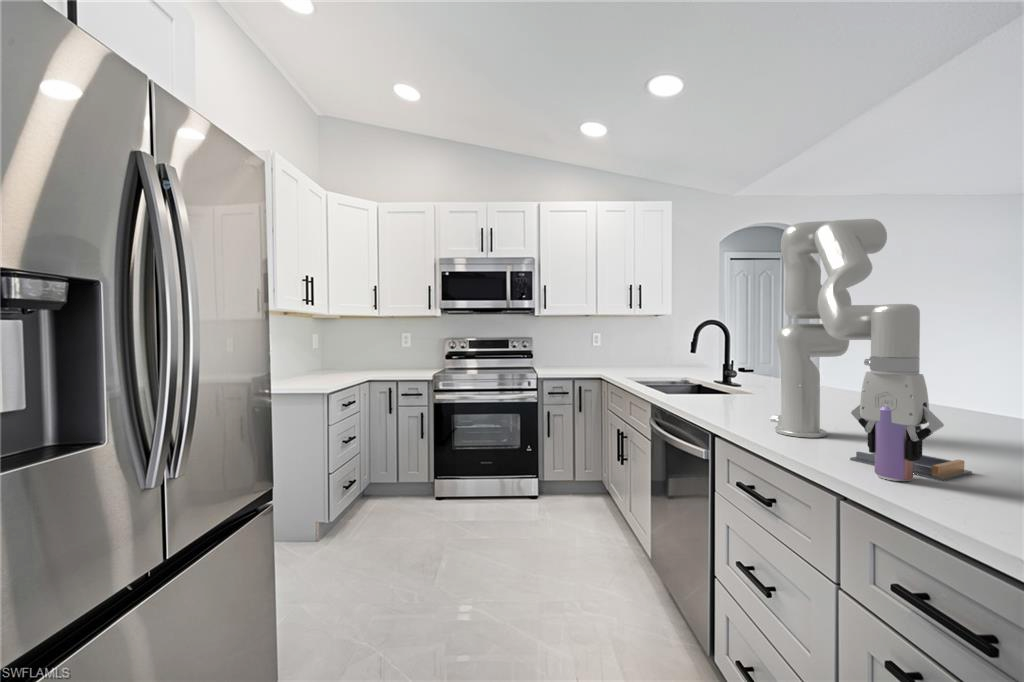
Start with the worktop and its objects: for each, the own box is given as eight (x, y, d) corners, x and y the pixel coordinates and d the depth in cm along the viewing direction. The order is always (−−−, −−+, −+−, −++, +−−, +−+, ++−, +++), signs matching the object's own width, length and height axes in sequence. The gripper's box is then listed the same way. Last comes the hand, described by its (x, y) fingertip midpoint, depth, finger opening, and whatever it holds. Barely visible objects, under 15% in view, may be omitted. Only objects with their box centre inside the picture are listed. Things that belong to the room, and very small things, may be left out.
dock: (850, 459, 107) (850, 449, 107) (878, 454, 111) (878, 443, 111) (943, 481, 91) (943, 468, 91) (971, 473, 96) (971, 461, 95)
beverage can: (887, 482, 91) (887, 405, 90) (868, 472, 97) (868, 400, 96) (920, 483, 90) (921, 406, 90) (899, 473, 96) (900, 401, 95)
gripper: (837, 364, 99) (837, 448, 99) (938, 370, 83) (937, 470, 84) (858, 362, 102) (858, 444, 103) (959, 368, 86) (958, 464, 87)
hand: (893, 455), depth 93 cm, fingers closed on beverage can, 5 cm apart
